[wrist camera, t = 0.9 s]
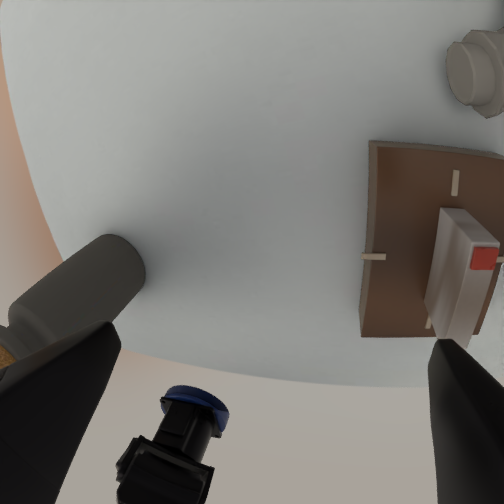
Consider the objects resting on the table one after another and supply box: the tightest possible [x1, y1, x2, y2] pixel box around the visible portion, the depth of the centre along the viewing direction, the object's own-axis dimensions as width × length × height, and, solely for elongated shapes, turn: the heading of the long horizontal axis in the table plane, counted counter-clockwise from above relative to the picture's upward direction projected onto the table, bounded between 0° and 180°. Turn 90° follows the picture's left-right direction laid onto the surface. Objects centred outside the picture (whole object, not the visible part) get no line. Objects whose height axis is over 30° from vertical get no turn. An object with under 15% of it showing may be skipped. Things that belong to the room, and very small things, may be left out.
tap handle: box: [424, 208, 500, 349], centre depth 13 cm, size 6×2×5 cm, turn 5°
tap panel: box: [359, 140, 504, 338], centre depth 17 cm, size 12×10×3 cm
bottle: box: [0, 234, 145, 369], centre depth 18 cm, size 6×6×15 cm
